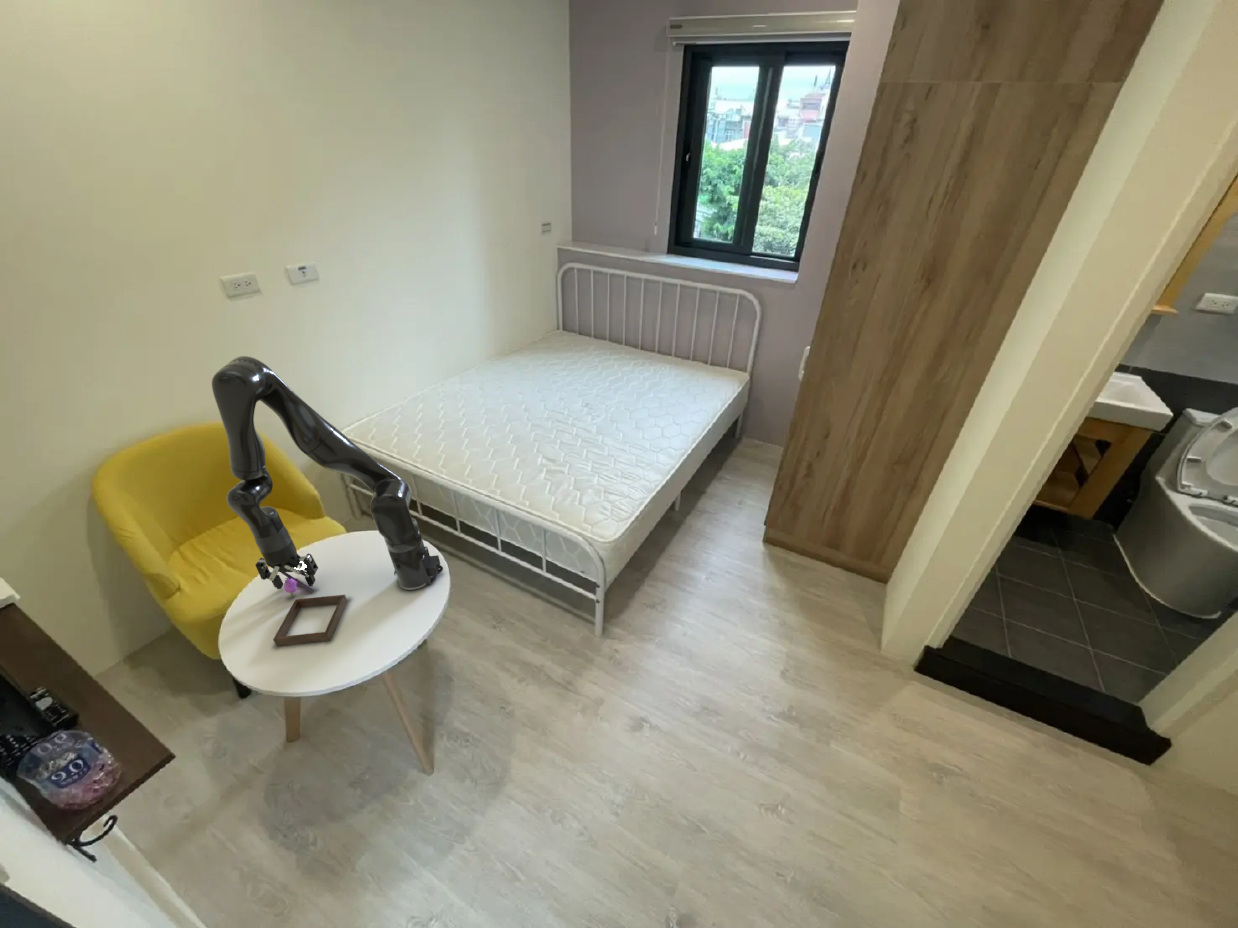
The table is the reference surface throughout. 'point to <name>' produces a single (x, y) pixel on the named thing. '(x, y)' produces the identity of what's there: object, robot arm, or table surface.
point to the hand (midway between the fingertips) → (296, 585)
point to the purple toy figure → (292, 584)
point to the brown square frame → (312, 637)
